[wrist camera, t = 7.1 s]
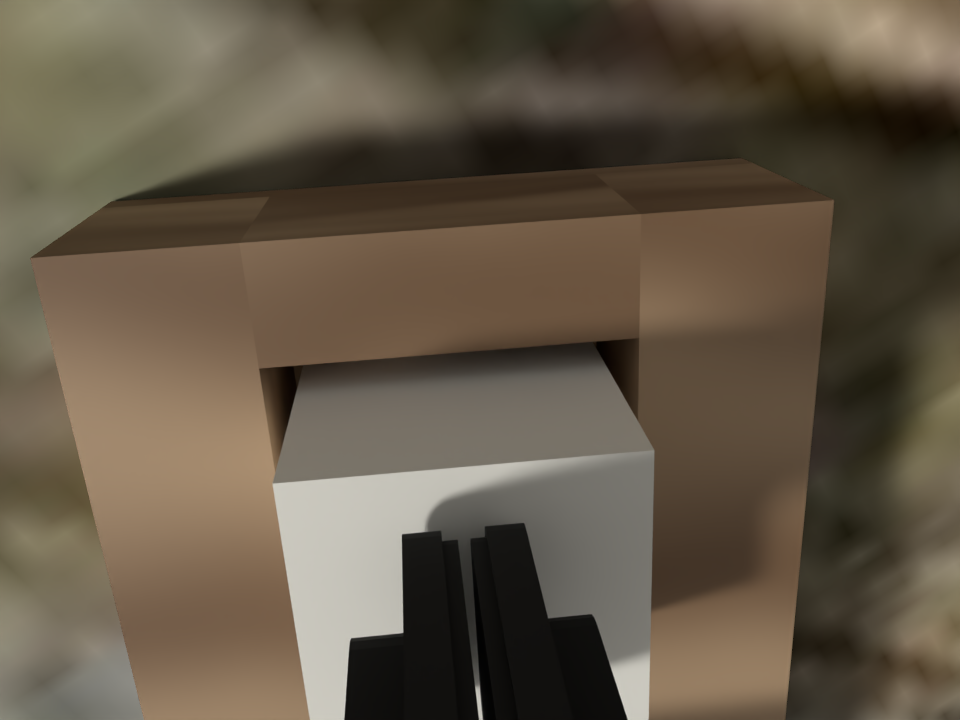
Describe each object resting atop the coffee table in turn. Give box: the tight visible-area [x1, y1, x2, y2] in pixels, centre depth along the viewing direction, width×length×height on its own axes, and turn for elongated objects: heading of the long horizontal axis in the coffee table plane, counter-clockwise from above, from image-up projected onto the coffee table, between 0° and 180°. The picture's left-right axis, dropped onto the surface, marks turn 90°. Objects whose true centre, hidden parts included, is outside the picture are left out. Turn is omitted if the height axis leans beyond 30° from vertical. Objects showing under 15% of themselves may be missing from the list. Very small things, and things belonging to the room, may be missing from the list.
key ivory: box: [273, 342, 654, 720], centre depth 15 cm, size 5×5×5 cm
